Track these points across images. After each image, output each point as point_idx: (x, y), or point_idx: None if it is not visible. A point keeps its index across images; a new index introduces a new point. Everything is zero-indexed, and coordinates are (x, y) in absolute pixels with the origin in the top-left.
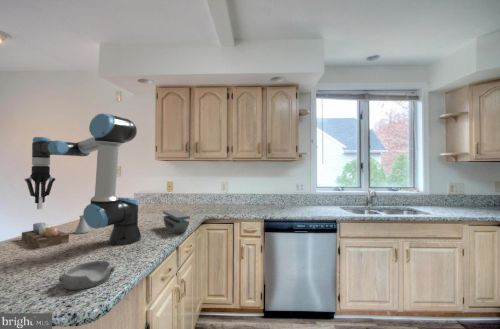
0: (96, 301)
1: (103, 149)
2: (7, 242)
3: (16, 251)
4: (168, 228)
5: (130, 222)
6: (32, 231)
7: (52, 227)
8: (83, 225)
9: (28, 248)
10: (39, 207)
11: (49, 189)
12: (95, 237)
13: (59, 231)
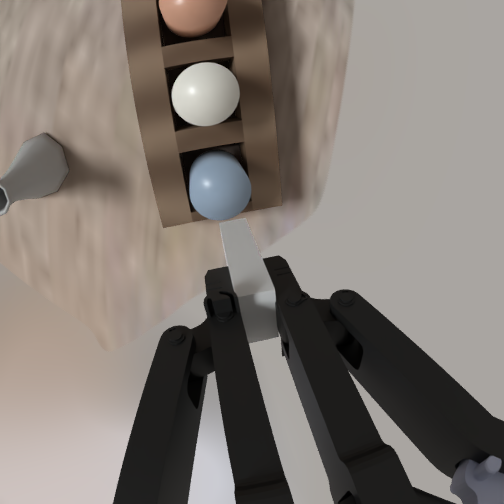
0: None
1: None
2: (317, 186)
3: (320, 10)
4: None
5: None
6: None
7: (186, 8)
8: (20, 157)
9: (281, 15)
10: (243, 227)
11: (158, 402)
12: (25, 23)
13: (136, 89)
